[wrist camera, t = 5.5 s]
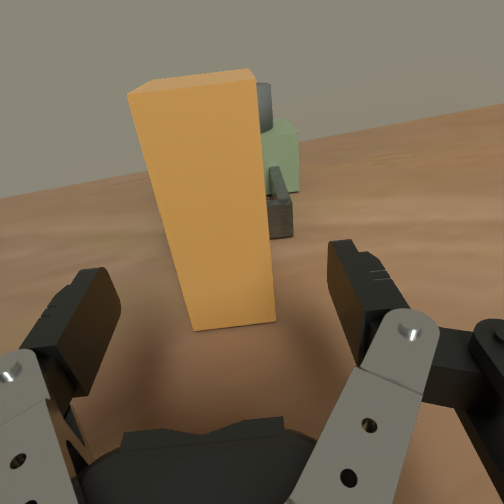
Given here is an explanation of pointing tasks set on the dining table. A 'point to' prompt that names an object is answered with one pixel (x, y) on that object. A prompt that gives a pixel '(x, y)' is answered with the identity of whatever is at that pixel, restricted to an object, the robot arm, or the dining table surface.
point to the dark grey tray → (279, 206)
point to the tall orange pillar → (210, 192)
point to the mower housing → (277, 142)
